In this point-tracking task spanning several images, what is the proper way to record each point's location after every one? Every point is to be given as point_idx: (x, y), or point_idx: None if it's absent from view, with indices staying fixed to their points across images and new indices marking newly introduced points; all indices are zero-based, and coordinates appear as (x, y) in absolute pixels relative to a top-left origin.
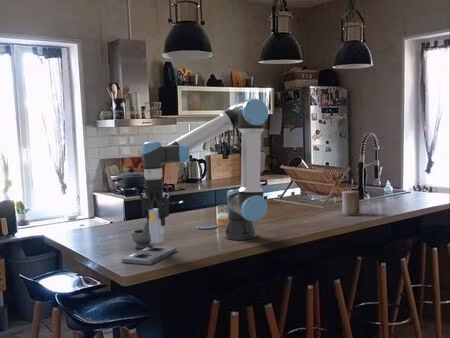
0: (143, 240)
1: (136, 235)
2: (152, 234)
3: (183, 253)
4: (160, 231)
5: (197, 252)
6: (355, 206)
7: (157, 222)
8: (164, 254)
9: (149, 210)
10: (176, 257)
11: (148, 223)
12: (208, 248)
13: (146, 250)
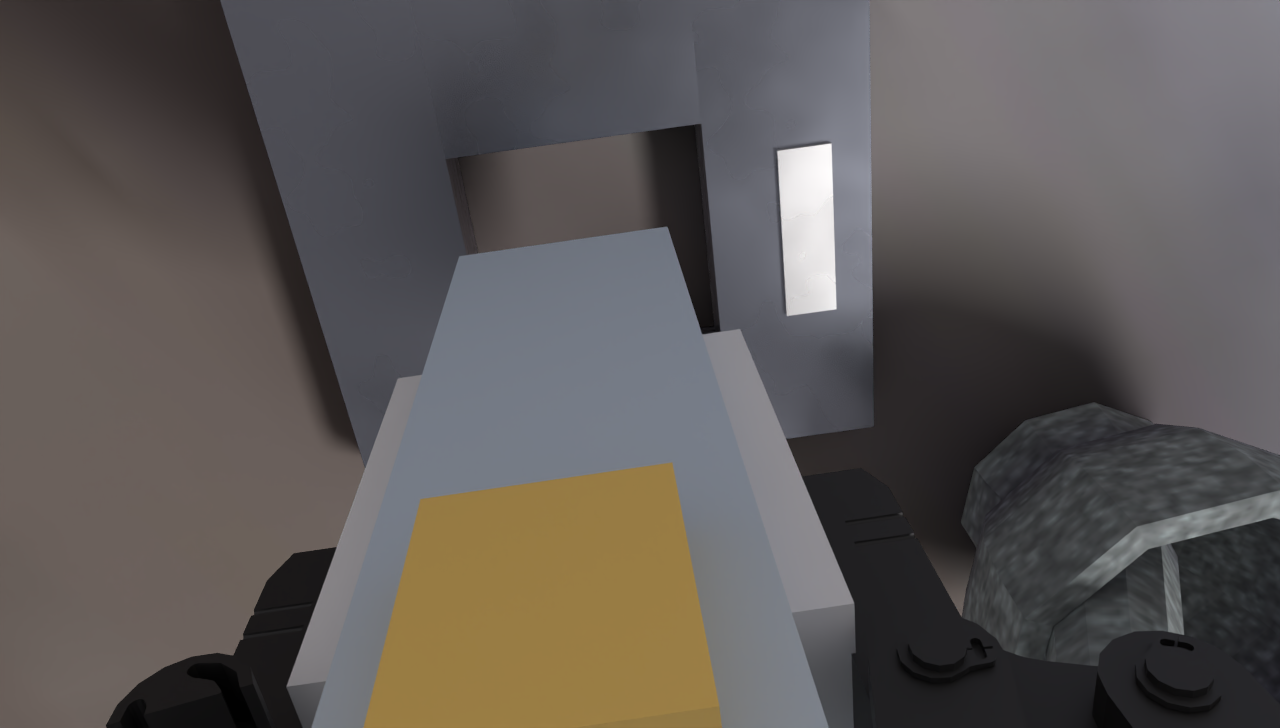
0: (1046, 474)
1: (1228, 472)
2: (624, 305)
3: (180, 399)
4: (395, 414)
5: (35, 520)
6: None
7: (389, 528)
8: (250, 74)
9: None
10: (74, 149)
11: (856, 513)
12: (81, 725)
13: (736, 137)
